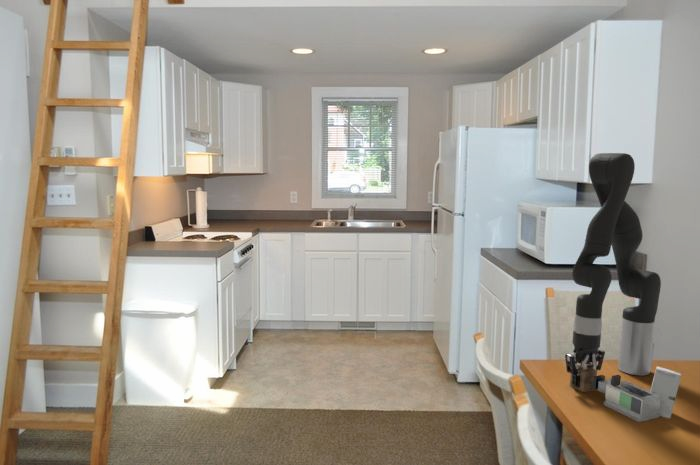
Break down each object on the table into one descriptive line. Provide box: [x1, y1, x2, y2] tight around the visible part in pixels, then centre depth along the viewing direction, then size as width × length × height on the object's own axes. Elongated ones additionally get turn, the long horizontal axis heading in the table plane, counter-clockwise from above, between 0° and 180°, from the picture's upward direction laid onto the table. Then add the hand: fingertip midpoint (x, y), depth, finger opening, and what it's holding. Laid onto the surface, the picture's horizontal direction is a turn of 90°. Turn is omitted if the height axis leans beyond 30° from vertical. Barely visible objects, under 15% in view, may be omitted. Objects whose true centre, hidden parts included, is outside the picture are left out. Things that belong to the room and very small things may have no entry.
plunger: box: [592, 374, 630, 395], centre depth 152 cm, size 6×10×6 cm, turn 24°
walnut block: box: [569, 365, 598, 393], centre depth 162 cm, size 5×5×6 cm
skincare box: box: [649, 365, 682, 419], centre depth 146 cm, size 6×4×12 cm
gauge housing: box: [603, 380, 661, 423], centre depth 147 cm, size 8×11×6 cm
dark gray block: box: [611, 374, 622, 386], centre depth 148 cm, size 2×1×3 cm, turn 114°
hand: (582, 385), depth 162 cm, fingers closed on walnut block, 5 cm apart
